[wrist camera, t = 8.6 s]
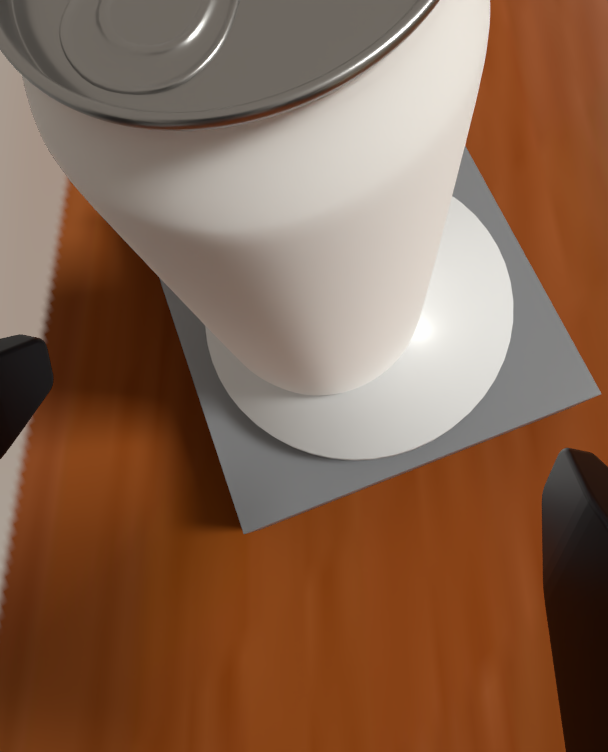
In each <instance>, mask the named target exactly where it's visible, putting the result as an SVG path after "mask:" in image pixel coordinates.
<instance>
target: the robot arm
mask: <svg viewBox="0 0 608 752" xmlns="http://www.w3.org/2000/svg"><path fill="white" fill-rule="evenodd" d="M52 385H53V372H52V368H51V363H50V359H49V354H48V349H47V346H46V344H45V342H44V341H43V340H42V339H40V338H36V337H31V336H26V335H15V336H11V337H7V338H2V339H0V459H1V458H2V457H3V455H4V454H5V453H6V452H7V450H8V449H9V448H10V446H11V445H12V444H13V442H14V441H15V439H16V438H17V437H18V435H19V434H20V432H21V431H22V430H23V428H24V427H25V425H26V424H27V423H28V421H29V420H30V418H31V417H32V415H33V414H34V413H35V411H36V410H37V408H38V407H39V406H40V404H41V403H42V401H43V400H44V398H45V397H46V396H47V394H48V393H49V391H50V390H51V388H52ZM542 547H543V589H544V598H545V607H546V614H547V621H548V628H549V635H550V642H551V649H552V656H553V663H554V670H555V678H556V685H557V692H558V699H559V706H560V713H561V720H562V727H563V734H564V741H565V748H566V752H608V467H607V466H606V465H605V464H604V463H603V462H602V461H601V460H600V459H599V458H598V457H597V456H595V455H594V454H593V453H590V452H586V451H581V450H576V449H571V448H565V449H563V450H562V451H561V452H560V453H559V455H558V457H557V459H556V461H555V464H554V466H553V468H552V470H551V473H550V475H549V477H548V480H547V482H546V484H545V487H544V490H543V495H542Z"/></svg>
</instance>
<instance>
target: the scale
mask: <svg viewBox="0 0 608 752" xmlns="http://www.w3.org/2000/svg"><path fill="white" fill-rule="evenodd" d="M159 279H160V278H159ZM160 282H161V285H162V288H163V291H164V294H165V297H166V300H167V303H168V306H169V309H170V312H171V315H172V318H173V321H174V324H175V327H176V330H177V333H178V336H179V339H180V342H181V345H182V348H183V351H184V354H185V357H186V360H187V364H188V367H189V370H190V373H191V376H192V379H193V382H194V385H195V388H196V391H197V394H198V397H199V400H200V403H201V406H202V409H203V412H204V415H205V418H206V421H207V424H208V427H209V430H210V433H211V436H212V439H213V442H214V445H215V448H216V451H217V454H218V457H219V460H220V464H221V467H222V470H223V473H224V476H225V479H226V482H227V485H228V488H229V491H230V494H231V497H232V500H233V503H234V506H235V509H236V512H237V515H238V518H239V521H240V524H241V527H242V530H243V533H244V534H246V533H250V532H253V531H257V530H261V529H263V528H266V527H268V526H271V525H273V524H276V523H278V522H281V521H283V520H286V519H289V518H291V517H294V516H296V515H299V514H301V513H304V512H306V511H309V510H311V509H314V508H317V507H319V506H322V505H324V504H327V503H329V502H332V501H334V500H337V499H339V498H342V497H345V496H347V495H350V494H352V493H355V492H357V491H360V490H362V489H365V488H367V487H370V486H373V485H375V484H378V483H380V482H383V481H385V480H388V479H390V478H393V477H396V476H398V475H401V474H403V473H406V472H408V471H411V470H413V469H416V468H418V467H421V466H424V465H426V464H429V463H431V462H434V461H436V460H439V459H441V458H444V457H446V456H449V455H452V454H454V453H457V452H459V451H462V450H464V449H467V448H469V447H472V446H474V445H477V444H480V443H482V442H485V441H487V440H490V439H492V438H495V437H497V436H500V435H502V434H505V433H508V432H510V431H513V430H515V429H518V428H520V427H523V426H525V425H528V424H531V423H533V422H536V421H538V420H541V419H543V418H546V417H548V416H551V415H553V414H556V413H559V412H561V411H564V410H566V409H569V408H571V407H573V406H576V405H578V404H580V403H582V402H584V401H587V400H589V399H591V398H593V397H595V396H598V395H600V394H601V392H600V390H599V389H598V387H597V385H596V383H595V381H594V380H593V378H592V376H591V374H590V372H589V370H588V369H587V367H586V365H585V363H584V361H583V360H582V358H581V356H580V354H579V352H578V350H577V349H576V347H575V345H574V343H573V341H572V340H571V338H570V336H569V334H568V332H567V330H566V329H565V327H564V325H563V323H562V321H561V320H560V318H559V316H558V314H557V312H556V310H555V309H554V307H553V305H552V303H551V301H550V299H549V298H548V296H547V294H546V292H545V290H544V289H543V287H542V285H541V283H540V281H539V279H538V278H537V276H536V274H535V272H534V270H533V269H532V267H531V265H530V263H529V261H528V259H527V258H526V256H525V254H524V252H523V250H522V249H521V247H520V245H519V243H518V241H517V239H516V238H515V236H514V234H513V232H512V230H511V229H510V227H509V225H508V223H507V221H506V219H505V218H504V216H503V214H502V212H501V210H500V208H499V207H498V205H497V203H496V201H495V199H494V198H493V196H492V194H491V192H490V190H489V188H488V187H487V185H486V183H485V181H484V179H483V178H482V176H481V174H480V172H479V170H478V168H477V167H476V165H475V163H474V161H473V159H472V158H471V156H470V154H469V152H468V150H467V148H466V147H464V151H463V155H462V159H461V163H460V167H459V171H458V175H457V179H456V183H455V187H454V191H453V194H452V198H451V202H450V206H449V210H448V214H447V218H446V222H445V225H444V229H443V233H442V237H441V241H440V245H439V248H438V252H437V256H436V260H435V264H434V267H433V271H432V275H431V279H430V283H429V286H428V290H427V294H426V297H425V301H424V305H423V308H422V312H421V315H420V318H419V321H418V324H417V327H416V330H415V332H414V335H413V337H412V339H411V340H410V342H409V344H408V346H407V347H406V349H405V350H404V352H403V353H402V355H401V356H400V357H399V358H398V359H397V361H396V362H395V363H394V364H393V365H392V366H391V367H390V368H389V369H387V370H386V371H385V372H384V373H383V374H381V375H380V376H378V377H377V378H375V379H374V380H372V381H371V382H369V383H367V384H365V385H363V386H361V387H358V388H356V389H353V390H350V391H347V392H343V393H338V394H332V395H320V396H317V395H304V394H299V393H295V392H291V391H288V390H285V389H282V388H280V387H277V386H275V385H273V384H271V383H269V382H267V381H265V380H263V379H262V378H260V377H258V376H257V375H256V374H254V373H253V372H252V371H250V370H249V369H248V368H247V367H246V366H245V365H244V364H243V363H242V362H241V361H240V360H239V359H238V358H237V357H236V356H235V355H233V353H232V352H231V351H230V350H229V349H228V348H227V347H226V346H225V345H224V344H223V343H222V342H221V341H220V340H219V339H218V338H217V337H216V336H215V335H214V334H213V333H212V332H211V331H210V330H209V329H208V328H207V327H206V326H205V325H204V324H203V323H202V322H201V320H200V319H199V318H198V317H197V316H196V315H195V314H194V313H193V312H192V311H191V310H190V309H189V308H188V307H187V306H186V305H185V304H184V303H183V302H182V301H181V300H180V299H179V298H178V296H177V295H176V294H175V293H174V292H173V291H172V290H171V289H170V288H169V287H168V286H167V285H166V284H165V283H164V282H163V281H162V280H161V279H160Z"/></svg>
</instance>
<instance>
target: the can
mask: <svg viewBox="0 0 608 752" xmlns="http://www.w3.org/2000/svg"><path fill="white" fill-rule="evenodd" d="M489 24H490V0H0V50H1V52H2V53H3V54H4V55H5V57H6V58H7V59H8V61H9V62H10V63H11V64H12V65H13V66H14V67H15V69H16V70H17V71H19V73H21V74H22V78H23V82H24V86H25V91H26V94H27V98H28V101H29V105H30V108H31V111H32V114H33V117H34V120H35V122H36V125H37V127H38V130H39V132H40V134H41V137H42V139H43V141H44V143H45V145H46V146H47V148H48V150H49V152H50V153H51V155H52V156H53V158H54V159H55V161H56V162H57V163H58V165H59V166H60V168H61V169H62V170H63V172H64V173H65V174H66V176H67V177H68V178H69V180H70V181H71V182H72V183H73V185H74V186H75V187H76V188H77V189H78V190H79V192H80V193H81V194H82V195H83V196H84V197H85V198H86V199H87V201H88V202H89V203H90V204H91V205H92V206H93V207H94V209H95V210H96V211H97V212H98V213H99V214H100V215H101V216H102V217H103V218H104V219H105V220H106V221H107V223H108V224H109V225H110V226H111V227H112V228H113V229H114V230H115V231H116V232H117V233H118V234H119V235H120V236H121V238H122V239H123V240H124V241H125V242H126V243H127V244H128V245H129V246H130V247H131V248H132V249H133V250H134V251H135V252H136V253H137V254H138V255H139V257H140V258H141V259H142V260H143V261H144V262H145V263H146V264H147V265H148V266H149V267H150V268H151V269H152V270H153V271H154V272H155V273H156V274H157V276H158V277H159V278H160V279H161V280H162V281H163V282H164V283H165V284H166V285H167V286H168V287H169V288H170V289H171V290H172V291H173V292H174V293H175V294H176V295H177V296H178V298H179V299H180V300H181V301H182V302H183V303H184V304H185V305H186V306H187V307H188V308H189V309H190V310H191V311H192V312H193V313H194V314H195V315H196V316H197V317H198V318H199V319H200V320H201V322H202V323H203V324H204V325H205V326H206V327H207V328H208V329H209V330H210V331H211V332H212V333H213V334H214V335H215V336H216V337H217V338H218V339H219V340H220V341H221V342H222V343H223V344H224V345H225V346H226V347H227V348H228V349H229V350H230V351H231V352H232V353H233V355H235V356H236V357H237V358H238V359H239V360H240V361H241V362H242V363H243V364H244V365H245V366H246V367H247V368H248V369H249V370H250V371H252V372H253V373H254V374H256V375H257V376H258V377H260V378H262V379H263V380H265V381H267V382H269V383H271V384H273V385H275V386H277V387H280V388H282V389H285V390H288V391H291V392H295V393H299V394H304V395H317V396H320V395H332V394H338V393H343V392H347V391H350V390H353V389H356V388H358V387H361V386H363V385H365V384H367V383H369V382H371V381H372V380H374V379H375V378H377V377H378V376H380V375H381V374H383V373H384V372H385V371H386V370H387V369H389V368H390V367H391V366H392V365H393V364H394V363H395V362H396V361H397V359H398V358H399V357H400V356H401V355H402V353H403V352H404V350H405V349H406V347H407V346H408V344H409V342H410V340H411V339H412V337H413V335H414V332H415V330H416V327H417V324H418V321H419V318H420V315H421V312H422V308H423V305H424V301H425V297H426V294H427V290H428V286H429V283H430V279H431V275H432V271H433V267H434V264H435V260H436V256H437V252H438V248H439V245H440V241H441V237H442V233H443V229H444V225H445V222H446V218H447V214H448V210H449V206H450V202H451V198H452V194H453V191H454V187H455V183H456V179H457V175H458V171H459V167H460V163H461V159H462V155H463V151H464V147H465V143H466V139H467V135H468V131H469V127H470V123H471V119H472V115H473V111H474V107H475V103H476V98H477V94H478V90H479V85H480V80H481V76H482V71H483V67H484V62H485V56H486V50H487V41H488V33H489Z"/></svg>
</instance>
